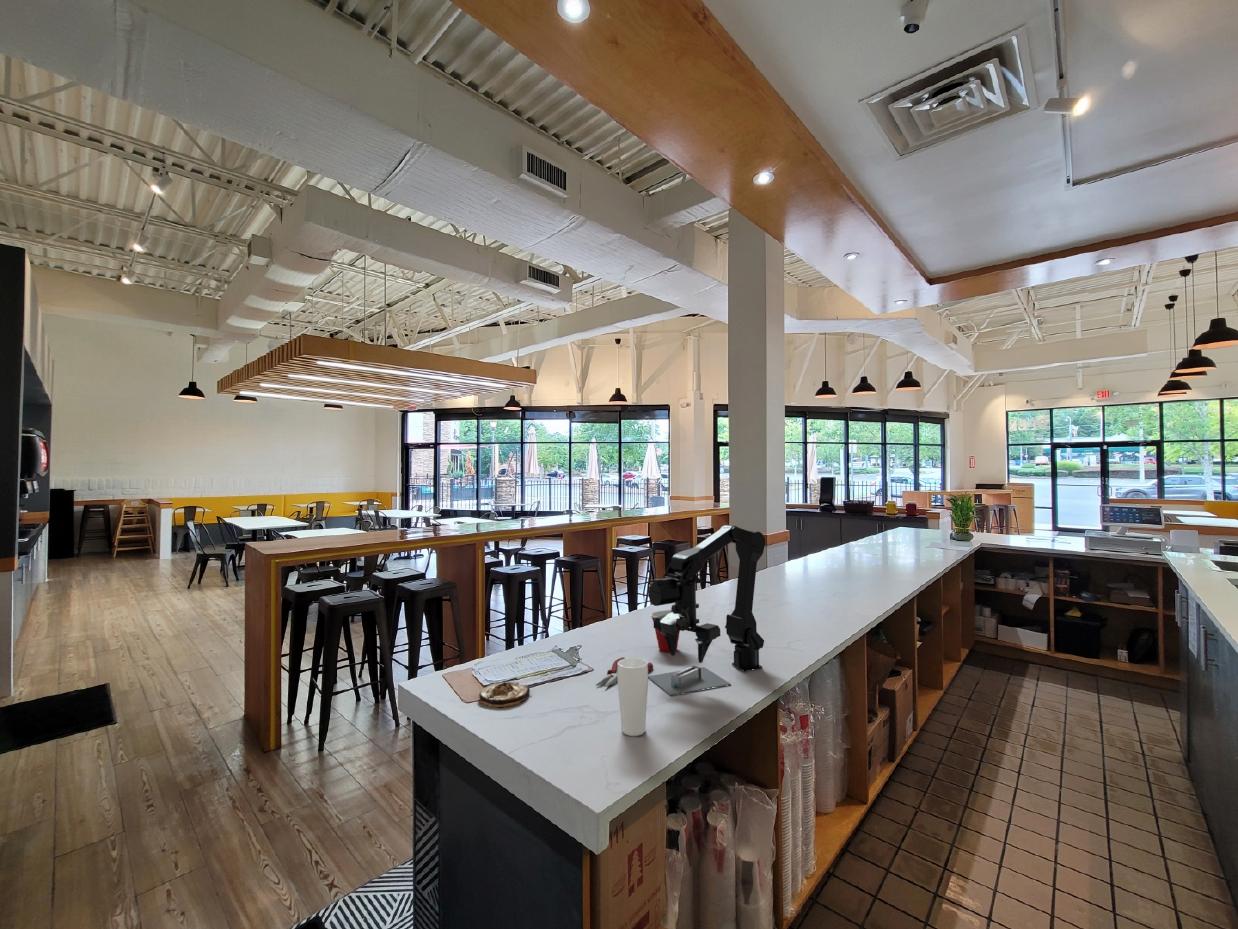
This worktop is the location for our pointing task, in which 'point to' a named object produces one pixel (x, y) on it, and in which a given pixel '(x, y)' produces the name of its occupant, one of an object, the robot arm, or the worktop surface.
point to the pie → (504, 694)
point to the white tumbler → (633, 694)
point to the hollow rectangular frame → (685, 677)
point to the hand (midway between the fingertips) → (686, 658)
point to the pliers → (612, 674)
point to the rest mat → (704, 682)
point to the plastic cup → (660, 638)
